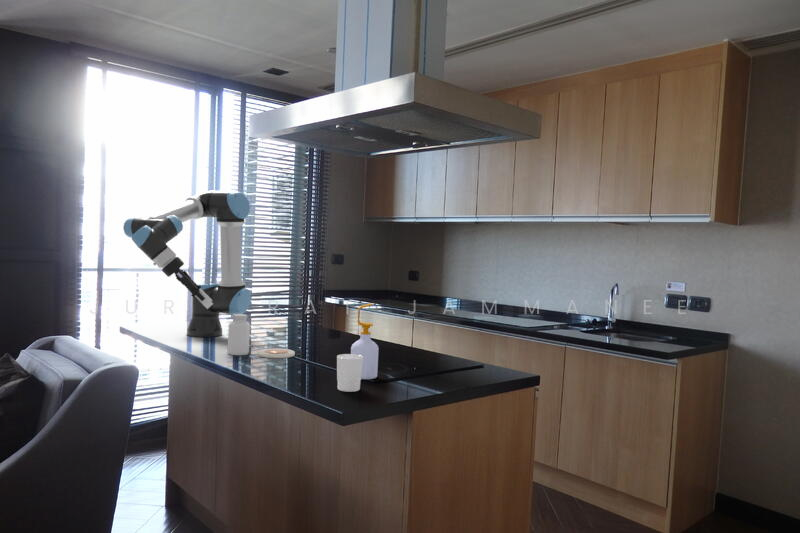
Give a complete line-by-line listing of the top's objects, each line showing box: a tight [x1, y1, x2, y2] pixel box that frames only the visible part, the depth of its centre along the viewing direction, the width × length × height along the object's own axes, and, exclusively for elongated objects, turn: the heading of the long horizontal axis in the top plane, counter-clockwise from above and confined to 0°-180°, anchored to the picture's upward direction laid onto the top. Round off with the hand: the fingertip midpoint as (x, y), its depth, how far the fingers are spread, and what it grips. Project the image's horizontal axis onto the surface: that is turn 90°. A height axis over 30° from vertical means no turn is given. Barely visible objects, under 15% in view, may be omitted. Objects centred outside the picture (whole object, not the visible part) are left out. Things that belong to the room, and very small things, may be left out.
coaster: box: [257, 348, 296, 359], centre depth 224 cm, size 14×14×1 cm
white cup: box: [336, 353, 363, 393], centre depth 176 cm, size 8×8×10 cm
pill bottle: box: [226, 313, 251, 356], centre depth 222 cm, size 8×8×15 cm
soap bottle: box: [350, 302, 380, 380], centre depth 194 cm, size 9×9×25 cm
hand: (210, 304), depth 218 cm, fingers open, 13 cm apart
